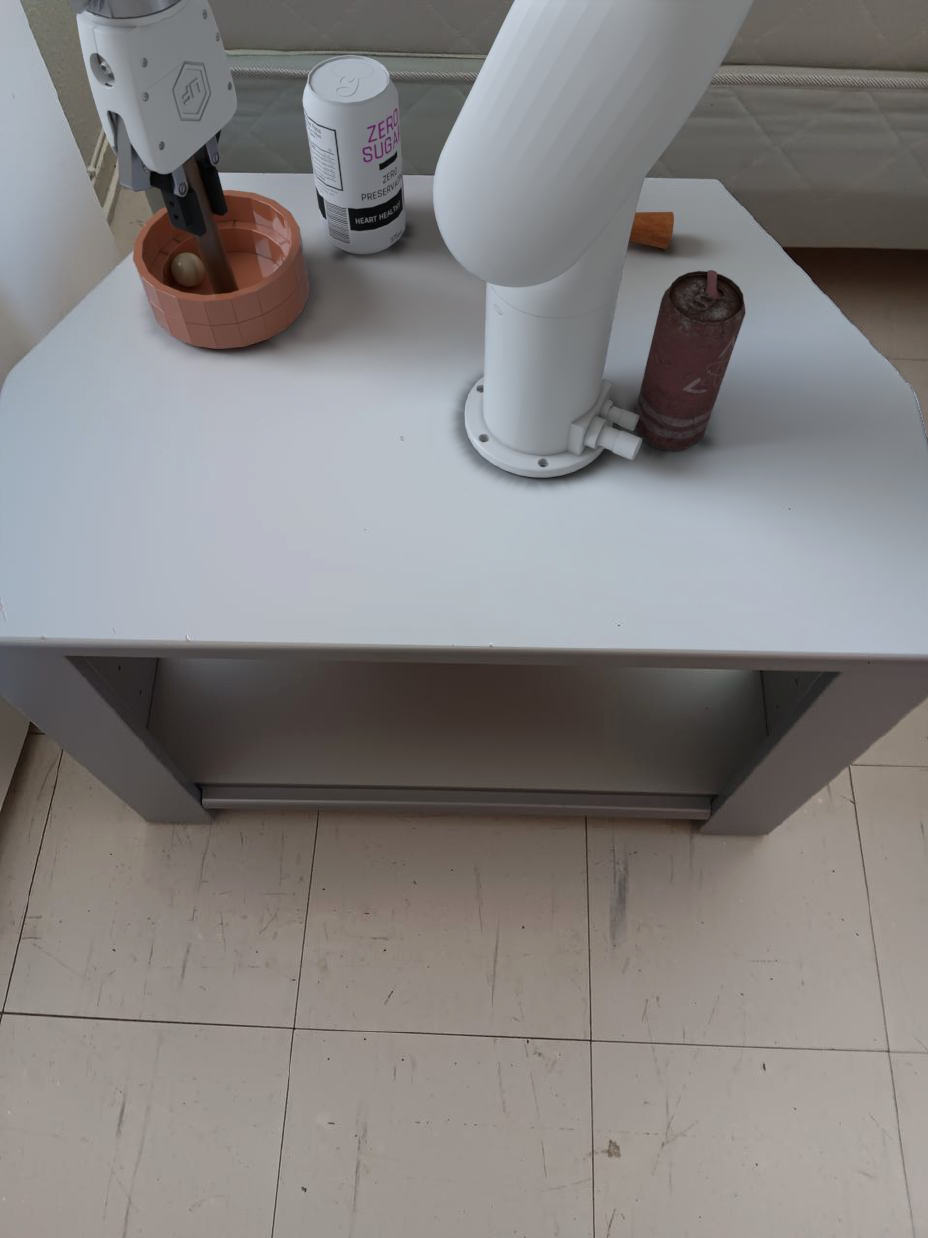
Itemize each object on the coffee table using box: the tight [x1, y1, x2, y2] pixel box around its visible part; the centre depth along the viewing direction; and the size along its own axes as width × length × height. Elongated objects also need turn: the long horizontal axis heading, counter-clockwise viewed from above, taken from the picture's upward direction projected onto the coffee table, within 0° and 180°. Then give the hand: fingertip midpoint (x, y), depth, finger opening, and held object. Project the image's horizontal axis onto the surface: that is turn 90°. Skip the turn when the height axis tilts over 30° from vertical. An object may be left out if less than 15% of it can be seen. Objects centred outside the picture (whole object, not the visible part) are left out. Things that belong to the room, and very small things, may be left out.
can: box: [634, 269, 747, 452], centre depth 72 cm, size 6×6×14 cm
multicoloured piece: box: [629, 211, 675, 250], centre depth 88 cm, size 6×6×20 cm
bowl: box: [132, 189, 310, 350], centre depth 83 cm, size 15×15×6 cm
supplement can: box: [302, 54, 407, 255], centre depth 84 cm, size 8×8×15 cm
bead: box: [171, 253, 205, 287], centre depth 85 cm, size 3×3×3 cm
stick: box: [182, 154, 239, 294], centre depth 77 cm, size 2×2×14 cm
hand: (200, 217), depth 76 cm, fingers closed on stick, 2 cm apart
